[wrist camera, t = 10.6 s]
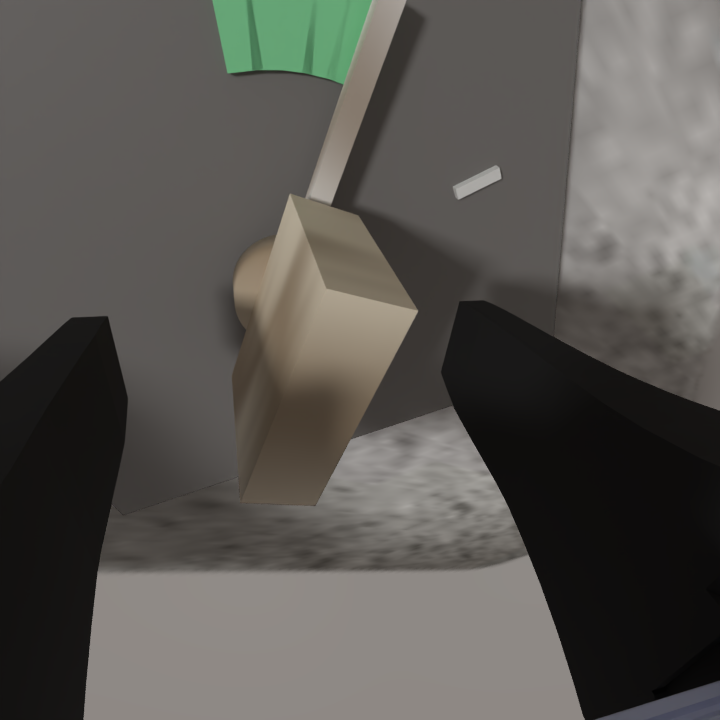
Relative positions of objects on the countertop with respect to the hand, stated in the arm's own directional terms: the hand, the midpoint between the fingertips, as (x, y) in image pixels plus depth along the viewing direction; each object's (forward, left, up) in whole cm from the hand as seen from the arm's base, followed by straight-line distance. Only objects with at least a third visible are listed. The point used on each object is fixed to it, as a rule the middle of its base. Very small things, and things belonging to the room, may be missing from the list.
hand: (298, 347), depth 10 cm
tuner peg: (+1, +2, -3) cm, 4 cm away
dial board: (0, 0, -4) cm, 4 cm away
